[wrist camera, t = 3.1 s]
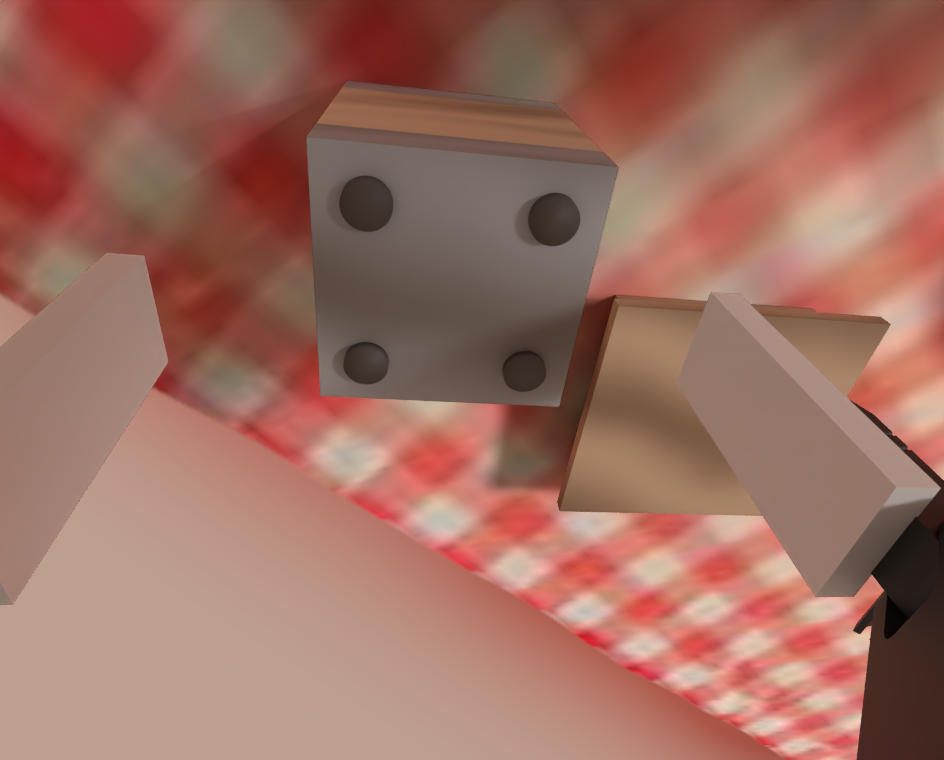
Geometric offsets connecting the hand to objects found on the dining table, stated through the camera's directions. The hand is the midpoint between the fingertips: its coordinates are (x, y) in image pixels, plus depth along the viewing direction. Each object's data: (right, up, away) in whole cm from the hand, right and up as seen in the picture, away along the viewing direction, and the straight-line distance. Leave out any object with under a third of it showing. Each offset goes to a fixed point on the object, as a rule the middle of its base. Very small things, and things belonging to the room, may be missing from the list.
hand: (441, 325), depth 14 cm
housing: (0, +6, +7) cm, 9 cm away
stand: (+11, -2, +13) cm, 17 cm away
